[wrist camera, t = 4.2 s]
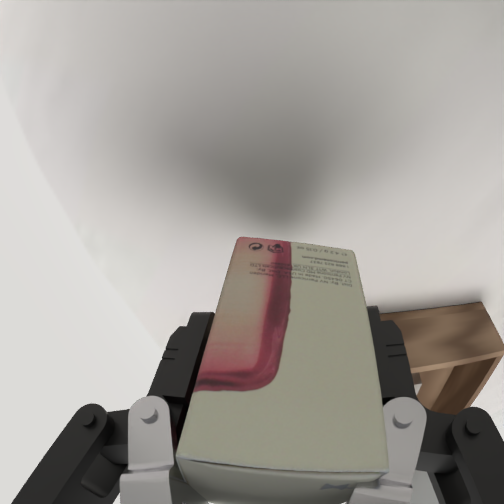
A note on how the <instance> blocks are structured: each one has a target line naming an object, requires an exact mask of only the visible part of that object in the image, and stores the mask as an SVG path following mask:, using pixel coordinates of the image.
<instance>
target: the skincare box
mask: <svg viewBox="0 0 504 504" xmlns="http://www.w3.org/2000/svg"><path fill="white" fill-rule="evenodd" d="M412 487H413V492H412V497H411V501H410V504H439V502H438V499H437V497H436V494H435V492H434V489H433V486H432V484H431V481H430V479H429V476H428V474H427V472H425V471H418V470H415V472H414V475H413V479H412Z"/></svg>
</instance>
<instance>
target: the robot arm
mask: <svg viewBox="0 0 504 504" xmlns="http://www.w3.org/2000/svg"><path fill="white" fill-rule="evenodd" d="M367 312H368V317H369V323H370V328H371V334H372V339H373V345H374V351H375V357H376V364H377V370H378V377H379V383H380V389H381V397H382V405H383V413H384V421H385V429H386V440H387V448H388V459H389V472H388V473H387V474H386V475H384V476H383V477H381V478H379V479H376V480H374V481H370V482H357V484H356V486H355V488H354V490H353V491H352V493H351V495H350V497H349V499H348V501H347V502H346V503H345V504H410V501H411V497H412V492H413V487H412V479H413V475H414V472H415V470H418V471H425V472H427V474H428V476H429V479H430V481H431V484H432V486H433V489H434V492H435V494H436V497H437V499H438V502H439V504H504V441H503V439H502V437H501V436H500V433H499V432H498V430H497V428H496V426H495V424H494V422H493V420H492V419H491V417H490V415H489V414H488V413H487V412H486V411H485V410H483V409H481V408H478V407H468V408H465V409H463V410H461V411H460V412H459V413H458V414H457V415H453V414H445V413H438V412H434V411H431V410H429V409H427V408H426V407H424V406H423V405H422V404H421V403H420V401H419V400H418V398H417V396H416V392H415V388H414V383H413V378H412V374H411V369H410V365H409V360H408V356H407V352H406V348H405V346H404V340H403V336H402V332H401V330H400V329H399V327H398V326H397V325H396V324H395V322H394V321H393V320H386V321H381V319H380V314H379V310H378V307H377V306H368V307H367ZM214 316H215V313H214V312H193V313H192V314H191V316H190V319H189V322H188V324H187V326H179V328H178V329H177V330H176V331H175V332H174V333H173V334H172V335H171V336H170V338H169V341H168V343H167V346H166V351H164V354H163V356H162V360H161V361H160V364H159V367H158V369H157V372H156V374H155V377H154V379H153V382H152V385H151V388H150V390H149V393H148V395H147V396H146V397H143V398H141V399H139V400H137V401H136V402H135V403H134V404H133V405H132V407H131V408H130V409H127V410H120V411H113V412H106V411H105V409H104V408H103V407H102V406H100V405H98V404H87V405H85V406H83V407H81V408H80V409H79V410H78V411H77V412H76V413H75V415H74V416H73V417H72V419H71V420H70V421H69V423H68V424H67V426H66V427H65V428H64V430H63V431H62V432H61V434H60V435H59V436H58V438H57V439H56V441H55V442H54V443H53V445H52V446H51V447H50V449H49V450H48V452H47V453H46V454H45V456H44V457H43V459H42V460H41V462H40V463H39V464H38V466H37V467H36V469H35V470H34V471H33V473H32V474H31V476H30V477H29V478H28V480H27V482H26V483H25V484H24V486H23V487H22V489H21V490H20V492H19V493H18V495H17V496H16V498H15V499H14V500H13V502H12V503H11V504H113V502H114V501H115V499H116V497H117V496H118V494H119V493H120V503H121V504H209V503H208V501H207V500H206V499H205V498H204V497H203V496H201V495H200V494H199V493H198V492H197V491H196V490H194V489H193V488H192V487H191V486H190V485H189V484H188V483H186V482H185V481H184V479H183V477H182V474H181V471H180V469H179V466H178V463H177V460H176V452H177V448H178V445H179V441H180V438H181V434H182V430H183V427H184V423H185V420H186V416H187V412H188V409H189V405H190V401H191V397H192V394H193V391H194V387H195V384H196V380H197V376H198V373H199V369H200V365H201V362H202V358H203V355H204V351H205V348H206V344H207V341H208V337H209V334H210V330H211V327H212V324H213V320H214Z"/></svg>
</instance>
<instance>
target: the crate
mask: <svg viewBox="0 0 504 504" xmlns="http://www.w3.org/2000/svg"><path fill="white" fill-rule="evenodd" d="M380 319H381V321H386V320H393V321H394V322H395V324H396V325H397V326H398V327H399V329H400V330H401V332H402V336H403V340H404V346H405V348H406V352H407V356H408V360H409V365H410V369H411V374H412V378H413V383H414V388H415V392H416V396H417V398H418V400H419V401H420V403H421V404H422V405H423V406H424V407H426V408H427V409H429V410H431V411H434V412H438V413H445V414H453V415H457V414H458V413H459V412H460V411H461V410H463V409H465V408H468V407H470V406H471V404H472V403H473V402H474V400H475V399H476V397H477V396H478V394H479V393H480V391H481V390H482V389H483V387H484V385H485V384H486V382H487V381H488V379H489V378H490V376H491V375H492V373H493V371H494V370H495V368H496V367H497V365H498V363H499V362H500V360H501V358H502V357H503V355H504V344H503V341H502V339H501V337H500V335H499V333H498V331H497V330H496V328H495V326H494V324H493V322H492V320H491V318H490V316H489V314H488V313H487V311H486V309H485V307H484V305H483V304H482V302H478V303H471V304H464V305H456V306H449V307H441V308H433V309H424V310H415V311H406V312H396V313H385V314H380Z"/></svg>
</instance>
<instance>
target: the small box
mask: <svg viewBox="0 0 504 504" xmlns="http://www.w3.org/2000/svg"><path fill="white" fill-rule="evenodd" d="M176 460H177V463H178V466H179V469H180V471H181V474H182V477H183V479H184V481H185V482H186V483H188V484H189V485H190V486H191V487H192V488H193V489H194V490H196V491H197V492H198V493H199V494H200V495H201V496H203V497H204V498H205V499H206V500H207V501H208V502H211V503H215V504H341V503H344V502H347V501H348V499H349V497H350V495H351V493H352V491H353V490H354V488H355V486H356V484H357V482H370V481H374V480H376V479H379V478H381V477H383V476H384V475H386V474H387V473H388V472H389V459H388V448H387V440H386V429H385V421H384V413H383V405H382V397H381V389H380V383H379V377H378V370H377V364H376V357H375V351H374V345H373V339H372V334H371V328H370V323H369V317H368V312H367V307H366V302H365V297H364V293H363V288H362V284H361V279H360V274H359V270H358V266H357V261H356V257H355V254H354V252H353V251H351V250H346V249H340V248H333V247H326V246H320V245H313V244H306V243H298V242H288V241H280V240H270V239H262V238H250V237H239V238H238V239H237V241H236V244H235V247H234V251H233V254H232V257H231V261H230V264H229V267H228V271H227V274H226V278H225V281H224V285H223V288H222V292H221V295H220V299H219V302H218V305H217V309H216V313H215V316H214V320H213V324H212V327H211V330H210V334H209V337H208V341H207V344H206V348H205V351H204V355H203V358H202V362H201V365H200V369H199V373H198V376H197V380H196V384H195V387H194V391H193V394H192V397H191V401H190V405H189V409H188V412H187V416H186V420H185V423H184V427H183V430H182V434H181V438H180V441H179V445H178V448H177V452H176Z"/></svg>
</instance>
